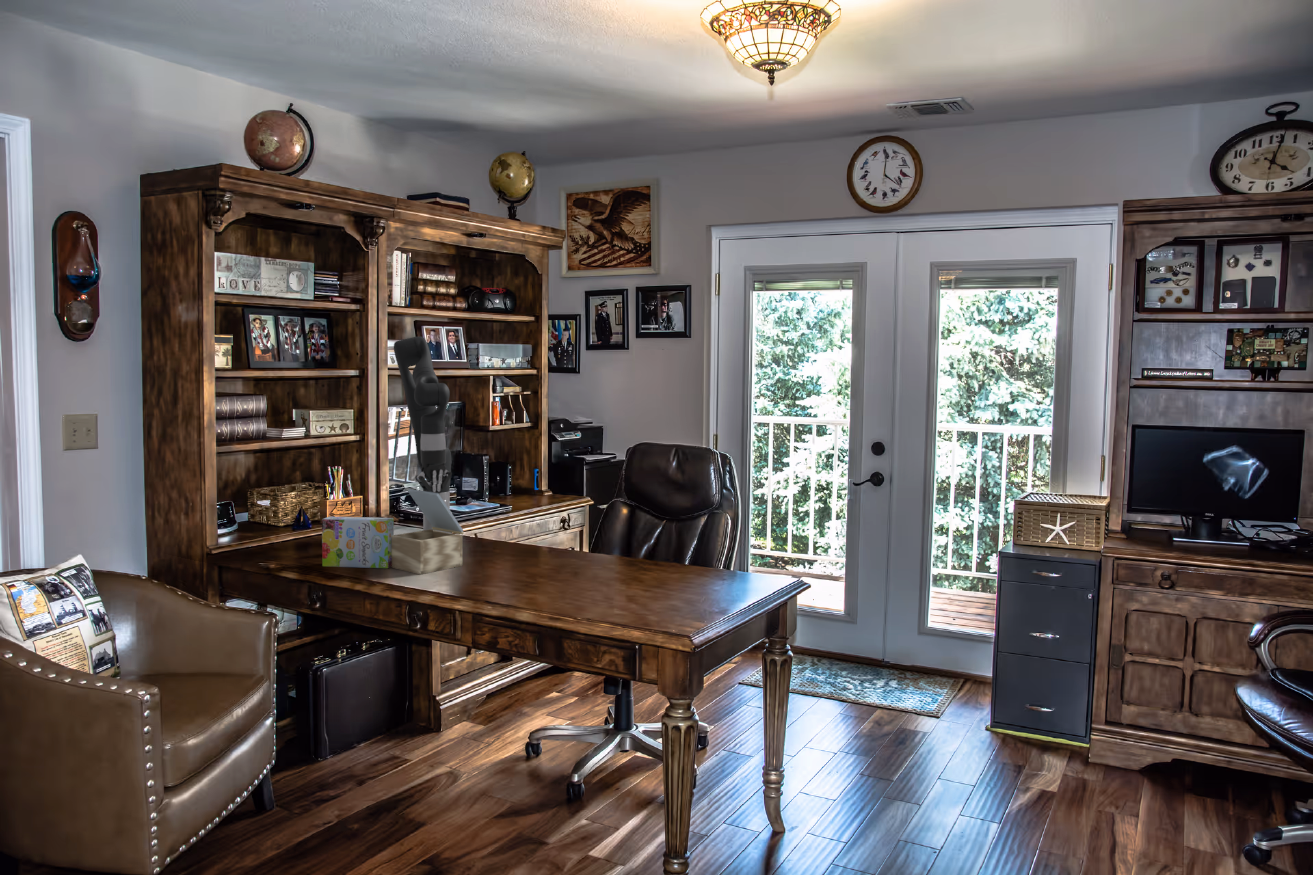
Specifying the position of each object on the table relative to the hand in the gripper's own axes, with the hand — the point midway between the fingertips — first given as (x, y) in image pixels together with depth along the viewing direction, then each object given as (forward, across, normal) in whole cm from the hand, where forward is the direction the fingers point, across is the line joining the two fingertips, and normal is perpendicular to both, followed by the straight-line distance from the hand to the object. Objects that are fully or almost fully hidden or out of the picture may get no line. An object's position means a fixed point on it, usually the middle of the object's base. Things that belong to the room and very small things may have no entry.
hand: (434, 503), depth 290 cm
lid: (+3, 0, 0) cm, 3 cm away
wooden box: (+19, +3, 0) cm, 20 cm away
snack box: (+19, +16, -17) cm, 31 cm away
